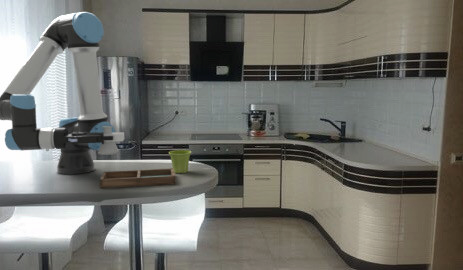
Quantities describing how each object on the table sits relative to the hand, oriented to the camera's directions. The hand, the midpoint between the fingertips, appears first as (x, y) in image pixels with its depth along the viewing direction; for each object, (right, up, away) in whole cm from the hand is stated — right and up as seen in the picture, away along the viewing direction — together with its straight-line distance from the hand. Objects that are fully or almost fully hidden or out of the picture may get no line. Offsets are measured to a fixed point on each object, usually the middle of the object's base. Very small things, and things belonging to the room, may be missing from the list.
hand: (123, 136), depth 138 cm
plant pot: (+18, -15, +24) cm, 33 cm away
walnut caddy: (+4, -17, +8) cm, 19 cm away
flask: (-5, -6, 0) cm, 8 cm away
